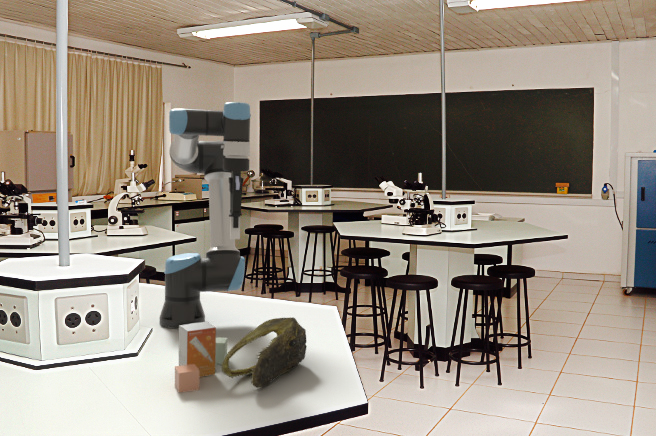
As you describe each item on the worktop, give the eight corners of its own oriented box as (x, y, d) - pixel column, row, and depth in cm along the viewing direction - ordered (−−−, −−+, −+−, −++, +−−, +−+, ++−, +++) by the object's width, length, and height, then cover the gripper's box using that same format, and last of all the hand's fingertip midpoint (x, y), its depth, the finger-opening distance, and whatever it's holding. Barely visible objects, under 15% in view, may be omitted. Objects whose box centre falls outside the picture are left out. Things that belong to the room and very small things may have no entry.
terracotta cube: (174, 385, 152) (174, 366, 152) (194, 382, 154) (194, 363, 154) (178, 393, 148) (178, 373, 147) (199, 390, 150) (199, 370, 149)
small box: (186, 380, 156) (186, 331, 154) (178, 372, 161) (178, 324, 159) (216, 374, 160) (216, 326, 159) (206, 367, 165) (207, 320, 164)
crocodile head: (264, 336, 178) (296, 305, 172) (295, 384, 172) (329, 353, 166) (200, 351, 155) (235, 316, 149) (233, 407, 149) (270, 372, 143)
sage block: (209, 357, 173) (209, 337, 173) (227, 358, 173) (227, 337, 173) (206, 363, 168) (206, 342, 168) (224, 364, 168) (224, 343, 168)
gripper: (221, 156, 179) (220, 235, 182) (224, 157, 166) (223, 242, 169) (247, 156, 180) (245, 235, 183) (251, 158, 168) (250, 242, 171)
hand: (235, 238), depth 176 cm, fingers closed
